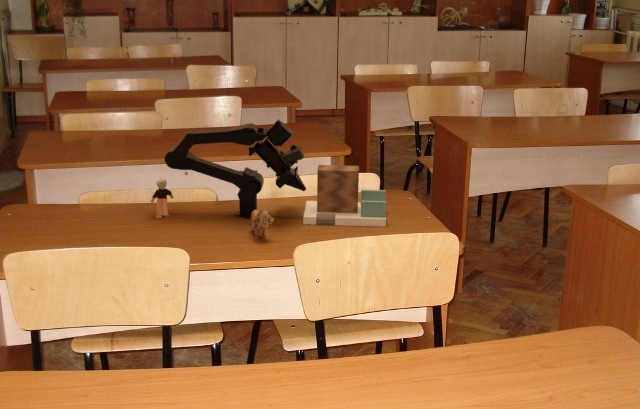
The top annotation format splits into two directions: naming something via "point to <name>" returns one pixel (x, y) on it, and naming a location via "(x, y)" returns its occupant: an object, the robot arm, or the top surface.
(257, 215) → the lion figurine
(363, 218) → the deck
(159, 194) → the grandmother figurine
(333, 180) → the walnut block
